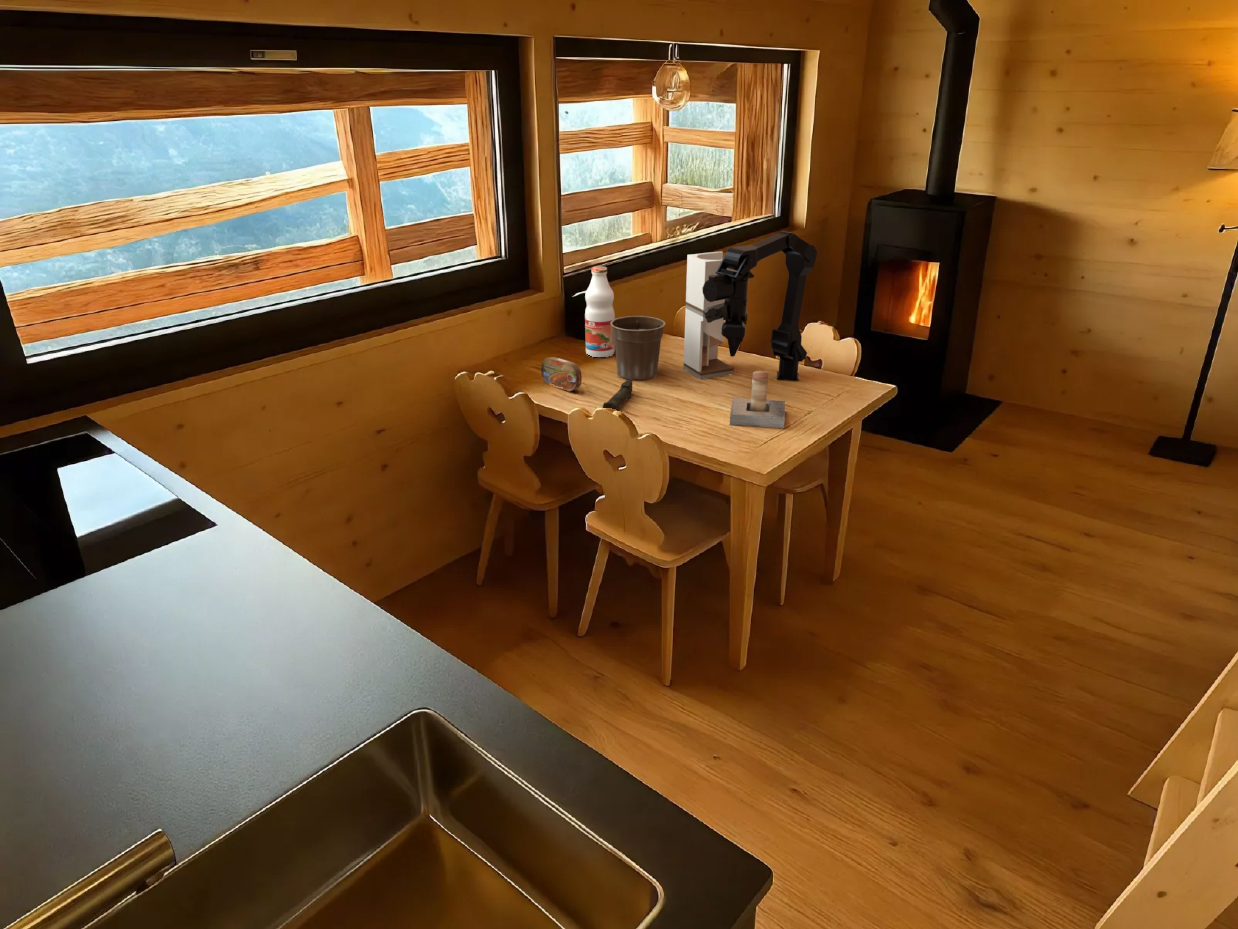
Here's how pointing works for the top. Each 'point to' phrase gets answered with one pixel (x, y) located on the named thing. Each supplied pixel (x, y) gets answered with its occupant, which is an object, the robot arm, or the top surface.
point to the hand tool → (620, 396)
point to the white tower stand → (702, 320)
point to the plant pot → (637, 346)
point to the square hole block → (757, 414)
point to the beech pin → (759, 391)
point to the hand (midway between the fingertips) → (733, 351)
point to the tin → (561, 373)
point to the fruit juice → (599, 315)
